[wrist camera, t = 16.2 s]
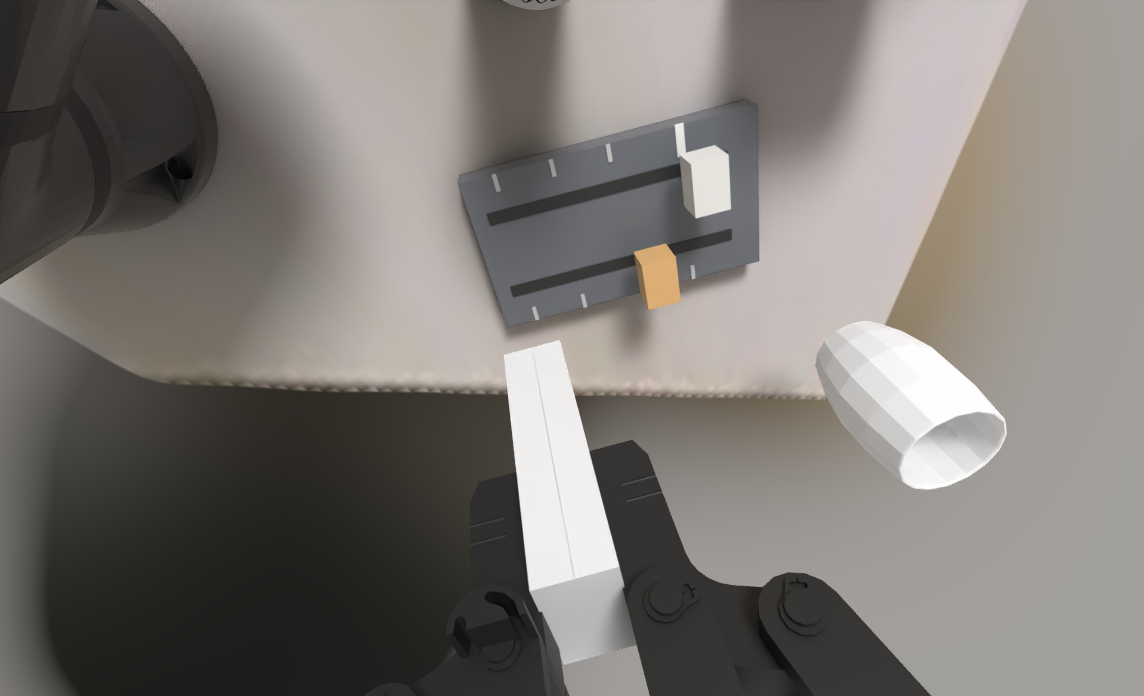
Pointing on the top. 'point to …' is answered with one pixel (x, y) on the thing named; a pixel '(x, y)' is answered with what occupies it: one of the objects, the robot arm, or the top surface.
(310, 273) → the top surface
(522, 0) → the energy drink can
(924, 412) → the cup
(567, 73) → the top surface
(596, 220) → the console
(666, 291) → the fader orange
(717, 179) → the fader white
